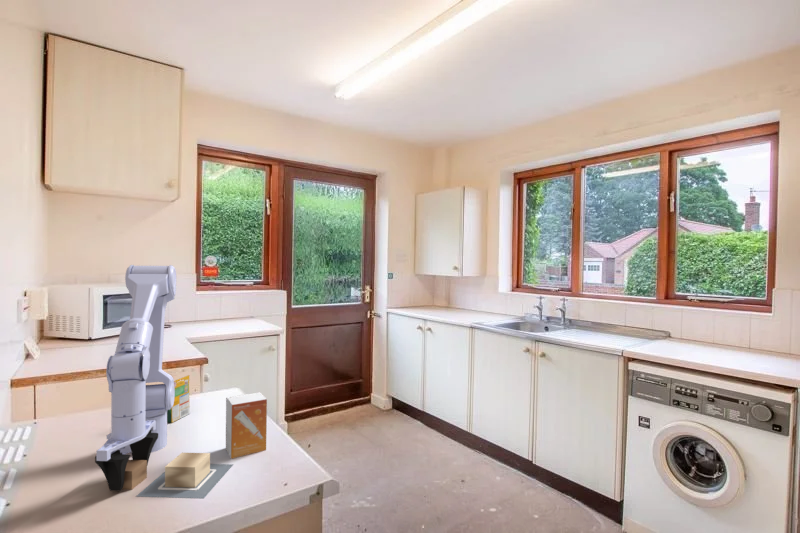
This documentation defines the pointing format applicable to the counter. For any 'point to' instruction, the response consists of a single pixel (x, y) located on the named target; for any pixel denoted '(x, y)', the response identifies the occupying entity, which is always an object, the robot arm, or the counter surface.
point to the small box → (246, 424)
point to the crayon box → (180, 400)
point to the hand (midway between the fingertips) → (128, 480)
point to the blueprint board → (199, 491)
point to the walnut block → (134, 473)
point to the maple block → (187, 470)
